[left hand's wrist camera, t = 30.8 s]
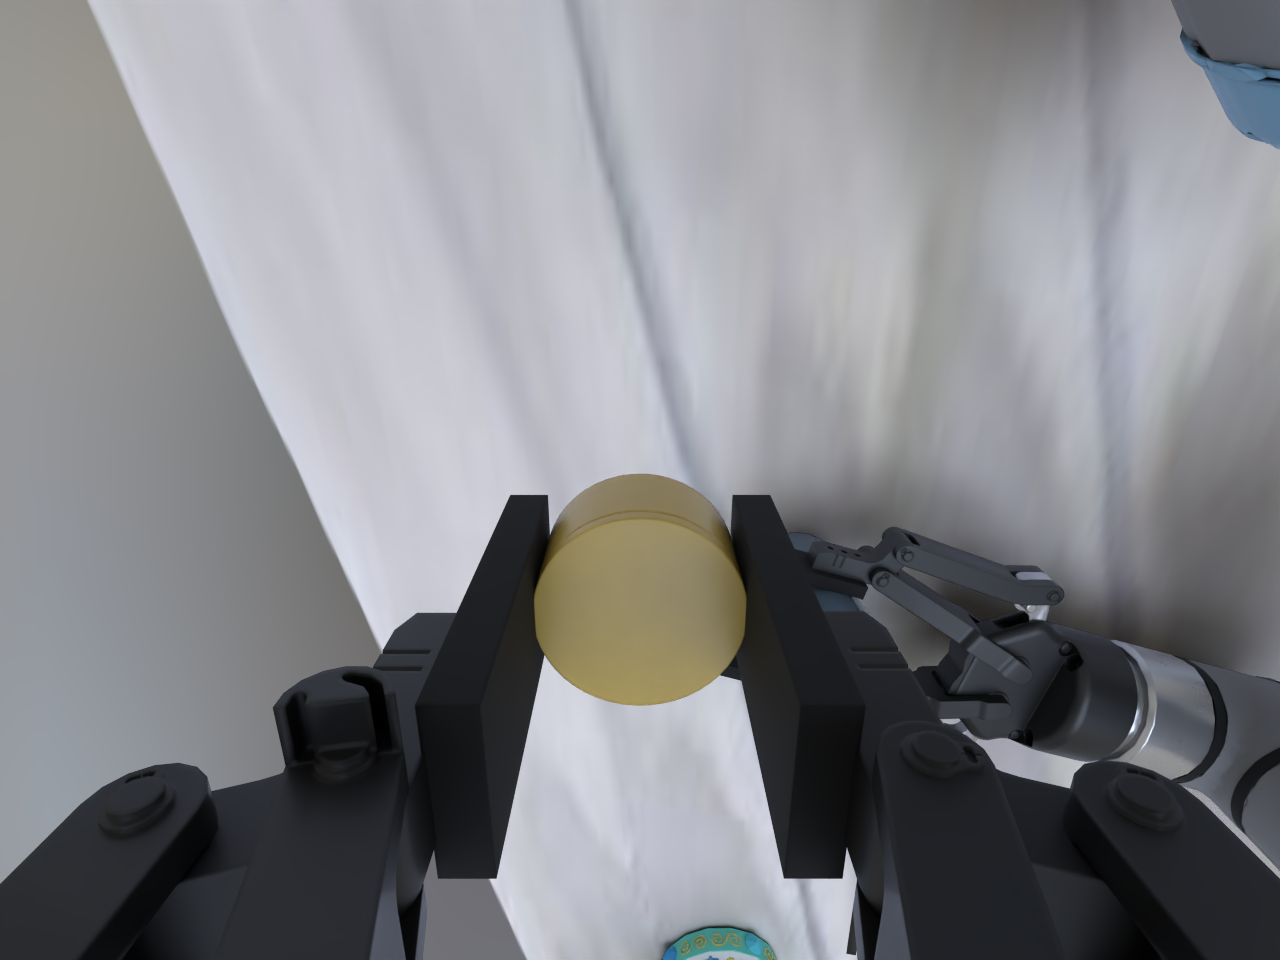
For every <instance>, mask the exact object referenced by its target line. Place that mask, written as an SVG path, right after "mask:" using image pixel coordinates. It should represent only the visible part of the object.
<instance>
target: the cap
mask: <svg viewBox="0 0 1280 960" xmlns="http://www.w3.org/2000/svg"><path fill="white" fill-rule="evenodd" d="M746 599H747V594H746V591H745V587H744V583H743V580H742V576H741V573H740V569H739V565H738V562H737V558H736V555H735V551H734V547H733V544H732V540H731V537H730V533H729V530H728V528H727V526H726V524H725V521H724V520H723V518H722V517H721V515H720V513H719V512H718V511H717V509H716V508H715V507H714V506H713V505H712V503H711V502H709V501H708V500H707V499H706V498H705V497H704V496H703V495H702V494H700V493H699V492H697V491H696V490H694V489H693V488H691V487H689V486H687V485H686V484H684V483H682V482H679V481H676V480H674V479H671V478H667V477H663V476H659V475H651V474H629V475H622V476H617V477H613V478H610V479H606V480H604V481H601V482H599V483H597V484H595V485H593V486H591V487H589V488H588V489H586V490H584V491H583V492H582V493H580V494H579V495H578V496H576V497H575V498H574V499H573V500H572V501H571V502H570V503H569V504H568V505H567V506H566V507H565V509H564V510H563V511H562V513H561V514H560V515H559V517H558V519H557V521H556V522H555V524H554V526H553V529H552V532H551V534H550V537H549V541H548V544H547V548H546V552H545V555H544V559H543V563H542V566H541V570H540V573H539V577H538V581H537V584H536V588H535V592H534V610H535V627H536V637H537V640H538V642H539V645H540V647H541V649H542V651H543V653H544V654H545V656H546V658H547V659H548V661H549V662H550V663H551V665H552V666H553V667H554V669H555V670H556V671H557V672H558V673H559V674H560V675H561V676H562V677H563V678H565V679H566V680H567V681H569V682H570V683H571V684H572V685H574V686H575V687H577V688H579V689H580V690H582V691H584V692H586V693H588V694H590V695H592V696H594V697H597V698H600V699H603V700H606V701H609V702H614V703H619V704H626V705H654V704H662V703H667V702H671V701H675V700H678V699H681V698H683V697H686V696H688V695H691V694H693V693H695V692H697V691H699V690H700V689H702V688H703V687H705V686H706V685H708V684H709V683H711V682H712V681H713V680H714V679H716V678H717V677H718V676H719V675H720V674H721V673H722V672H723V671H724V670H725V669H726V668H727V667H728V665H729V664H730V663H731V661H732V660H733V658H734V657H735V655H736V654H737V652H738V650H739V648H740V646H741V644H742V641H743V638H744V633H745V617H746Z"/></svg>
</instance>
